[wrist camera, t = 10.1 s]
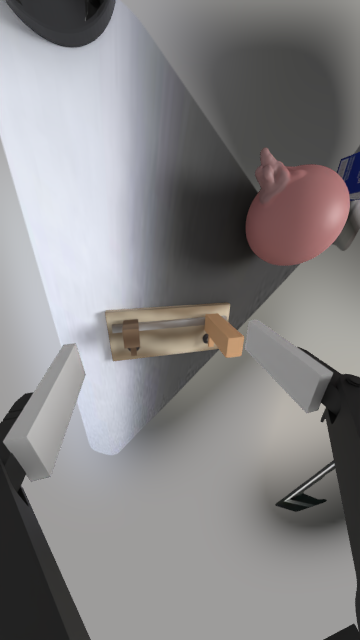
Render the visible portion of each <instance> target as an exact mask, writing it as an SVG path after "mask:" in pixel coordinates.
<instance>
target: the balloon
mask: <svg viewBox="0 0 360 640" xmlns="http://www.w3.org/2000/svg"><path fill="white" fill-rule="evenodd" d="M260 155H261V158H260V160H261V166H259V167H258V168H257V169H256V172H255V176H256V178H257V180H258V182H259V184H260V187H261V189H260V191H259V192H258V194H257V195H256V197H255V198H254V200H253V202H252V204H251V206H250V208H249V211H248V214H247V218H246V237H247V240H248V243H249V245H250V247H251V249H252V250H253V252H254V253H255V254H256V255H257V256H258V257H259V258H261V259H262V260H264V261H266V262H268V263H271V264H274V265H281V266H288V265H295V264H300V263H303V262H306V261H308V260H310V259H312V258H314V257H316V256H317V255H319V254H320V253H322V252H323V251H324V250H326V249H327V248H328V247H329V246H330V245H331V244H332V243H333V242H334V241H335V240H336V238H337V237H338V235H339V234H340V232H341V231H342V229H343V227H344V225H345V223H346V220H347V217H348V213H349V208H350V197H349V192H348V188H347V186H346V184H345V182H344V180H343V179H342V178H341V177H340V176H339V175H338V174H337V173H336V172H335V171H333V170H331V169H330V168H327V167H325V166H321V165H313V164H308V165H300V166H296V167H287V166H284V164H283V163H282V162H280V161H277V160H276V159H275V158H274V157H273V155H272V154H271V153H270V152H269V149H268V148H263V149H262V150H261V152H260Z"/></svg>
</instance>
